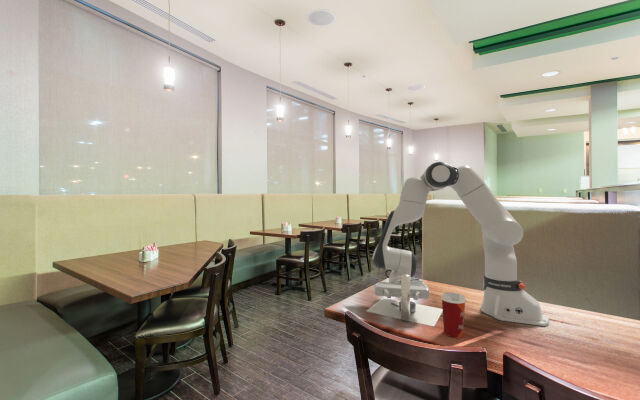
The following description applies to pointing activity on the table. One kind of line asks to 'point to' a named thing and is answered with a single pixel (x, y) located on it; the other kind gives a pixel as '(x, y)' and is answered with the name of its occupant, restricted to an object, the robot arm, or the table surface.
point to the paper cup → (453, 314)
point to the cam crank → (406, 298)
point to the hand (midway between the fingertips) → (402, 297)
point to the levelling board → (421, 315)
